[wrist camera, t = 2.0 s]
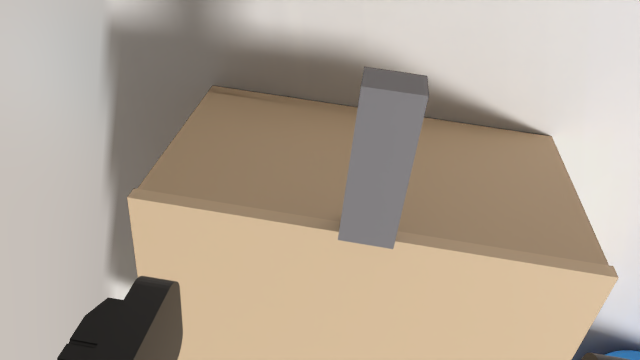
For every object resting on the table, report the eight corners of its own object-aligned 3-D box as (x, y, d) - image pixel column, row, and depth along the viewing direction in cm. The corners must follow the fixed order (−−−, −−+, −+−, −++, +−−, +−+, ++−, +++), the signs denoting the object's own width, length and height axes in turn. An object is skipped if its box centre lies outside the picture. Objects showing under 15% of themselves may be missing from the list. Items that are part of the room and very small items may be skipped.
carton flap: (121, 31, 18) (99, 47, 16) (687, 113, 17) (710, 138, 15) (168, 437, 31) (158, 462, 30) (479, 496, 30) (482, 525, 29)
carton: (212, 85, 29) (135, 190, 21) (551, 136, 28) (610, 268, 20) (216, 313, 39) (166, 443, 31) (465, 356, 38) (480, 503, 30)
